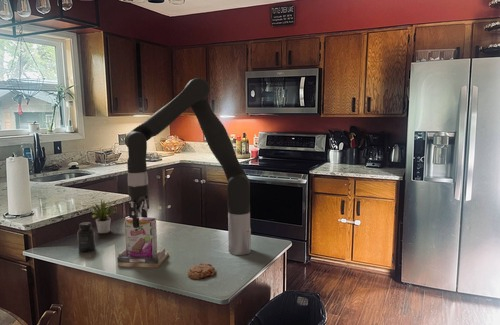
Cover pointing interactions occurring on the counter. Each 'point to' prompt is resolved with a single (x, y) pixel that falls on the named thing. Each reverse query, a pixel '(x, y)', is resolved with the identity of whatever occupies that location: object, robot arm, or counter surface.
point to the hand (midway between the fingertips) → (140, 224)
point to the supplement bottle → (86, 237)
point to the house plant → (103, 217)
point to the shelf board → (141, 259)
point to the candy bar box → (141, 238)
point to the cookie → (201, 271)
